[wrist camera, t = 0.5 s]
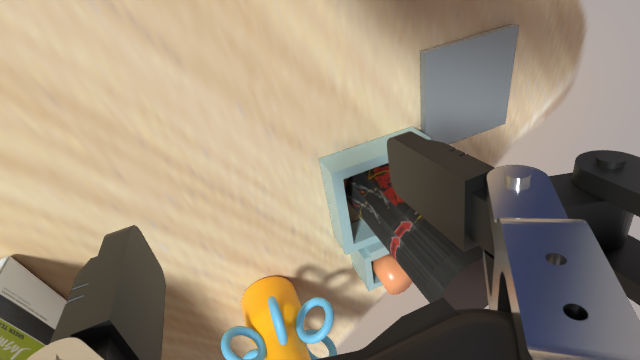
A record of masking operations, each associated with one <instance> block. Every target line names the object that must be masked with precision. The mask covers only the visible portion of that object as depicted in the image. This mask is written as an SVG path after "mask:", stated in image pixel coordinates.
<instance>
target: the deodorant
mask: <svg viewBox="0 0 640 360" xmlns="http://www.w3.org/2000/svg"><path fill="white" fill-rule="evenodd" d="M345 193H346V197H347V200H348V201H349V203H350V204H351V205H352V206H353V208H354V209H355V210H356V211H357V213H358V214H359V215H360V216H361V218H362V219H363V220H364V221H365V223H366V224H367V225H368V226H369V228H370V229H371V230H372V231H373V233H374V234H375V235H376V236H377V238H378V239H379V240H380V241H381V243H382V244H383V245H384V246H385V248H386V249H387V250H388V251H389V253H390V254H391V255H392V256H393V258H394V259H395V260H396V261H397V263H398V264H399V265H400V266H401V268H402V269H403V270H404V271H405V273H406V274H407V275H408V276H409V278H410V279H411V280H412V281H413V283H414V284H415V285H416V286H417V288H418V289H419V290H420V291H421V293H422V294H423V295H424V296H425V298H426V299H427V300H428V301H429V302H430V303H432V302H434V301H436V300H438V299H441V298H443V297H444V298H445V299H446V301H447V302H448V303H449V304H450V305H451V306H452V307H453V308H454V309H455V310H459V309H471V308H474V309H483V308H485V307H486V306H487V305H489V304H488V296H487V288H486V280H485V272H484V264H483V248H482V247H481V246H480V245H479V246H477V247H475V248H472V249H470V250H468V251H466V252H463V251H462V250H461V249H460V248H458V247H457V246H456V245H455V244H454V243H453V242H451V241H450V240H449V239H448V238H447V237H446V236H444V235H443V234H442V233H441V232H440V231H438V230H437V229H436V228H435V227H434V226H433V225H431V224H430V223H429V222H428V221H427V220H425V219H424V218H423V217H422V216H421V215H420V214H418V213H417V212H416V211H415V210H414V209H413V208H411V207H410V206H409V205H408V204H407V203H405V202H404V201H403V200H402V199H401V198H400V197H398V195H397V194H396V193H395V191H394V189H393V187H392V184H391V180H390V171H389V163H386V164H384V165H381V166H378V167H375V168H373V169H370V170H367V171H364V172H362V173H359V174H356V175H353V176H351V177H349V179H348V181H347V184H346V192H345Z"/></svg>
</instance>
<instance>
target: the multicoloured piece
mask: <svg viewBox="0 0 640 360" xmlns="http://www.w3.org/2000/svg"><path fill="white" fill-rule="evenodd" d="M314 306H321V307H323V309H324V311H325V321H324V324H323V326H322V328H321V329H320V330H319V331H318V330H313V329H310V330H306V331H305V330H304V323H305V315H306V314H307V312H308V311H309V310H310V309H311V308H312V307H314ZM241 307H242V312H243V316H244V321H245V326H246V327H244V326H237V327H233V328H231V329H229V330H228V331H226V332H225V334H224V335H223V337H222V340H221V350H222V353H223V355H224V357H225V359H226V360H316V359H321V358H318V357H316V356H315V355H313V354H312V353H311V352H310V351H309V349H308V347H307V345H306V343H308V344H314V343H317V342H319V341H322V342H323V343H324V344H325V345H326V346H327V348H328V350H329V357H330V356H335V355H337V351H336V347H335V345H334V343H333V342H332V340H331V339H330V338H329V337H328V336H327V334H328V333H329V331H330V329H331V327H332V324H333V319H334V313H333V308H332V306H331V304H330V303H329V302H328V301H327V300H326V299H324V298H321V297H315V298H312V299H310V300H308V301H307V302H305V303H304V304H303V306H301V303H300V301H299V298H298V296H297V293H296V291H295V288H294V286H293V284H292V283H291V282H290V281H289V280H287V279H285V278H283V277H278V276H273V277H267V278H263V279H261V280H258V281H257V282H255V283H253V284H252V285H251V286H250V287H249V288H248V289H247V290H246V291H245V293H244V294H243V297H242V300H241ZM237 335H243V336H247V337H249V339H250V341H251V342H252V343H253V344H254V345H255V346H256V347H257V348H258V349H253V350H251V351H249V352H248V353H247V354H245V356H244V357H243V358H240V357H238V356H237V355H236V354H235V353H234V352H233V351H232V349H231V347H230V340H231V339H232V338H233V337H234V336H237Z"/></svg>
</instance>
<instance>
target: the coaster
mask: <svg viewBox="0 0 640 360" xmlns="http://www.w3.org/2000/svg"><path fill="white" fill-rule="evenodd" d="M518 27H519V25H513V24H511V25H508V26H504V27H501V28H498V29H494V30H491V31H487V32H484V33H481V34H477V35H474V36H470V37H467V38H464V39H460V40H457V41H454V42H450V43H447V44H443V45H440V46H437V47H433V48H430V49H426V50H423V51H420V76H421V132H422V133H424V134H425V135H427V136H429V137H430V138H431V140H433V141H438V142H443V143H445V144H451V143H454V142H457V141H459V140H462V139H465V138H468V137H470V136H473V135H476V134H478V133H481V132H484V131H487V130H489V129H492V128H495V127H498V126H500V125H503V124H505V122H506V115H507V107H508V100H509V93H510V85H511V78H512V71H513V64H514V56H515V49H516V42H517V35H518Z"/></svg>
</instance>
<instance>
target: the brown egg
mask: <svg viewBox="0 0 640 360" xmlns="http://www.w3.org/2000/svg"><path fill="white" fill-rule="evenodd" d="M371 265H372V270H373V271H374V273H375V274H376V275H377V277H378V278H379V280H380V281H381V283H382V284H383V285H384V287H385V288H386V290H387V291H388V293H390V294H392V295H395V294H400V293H401V292H404V291H405V290H406V289H407V288H408V287H409V286H410V285H411V283H412V280H411V279H410V278H409V276H408V275H407V274H406V273H405V271H404V270H403V269H402V268H401V266H400V265H399V264H398V263H397V261H396V260H395V259H394V258H393V256H392V255H391V254H387V255H385V256H383V257H380V258H378V259H376V260H373V261H371Z"/></svg>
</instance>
